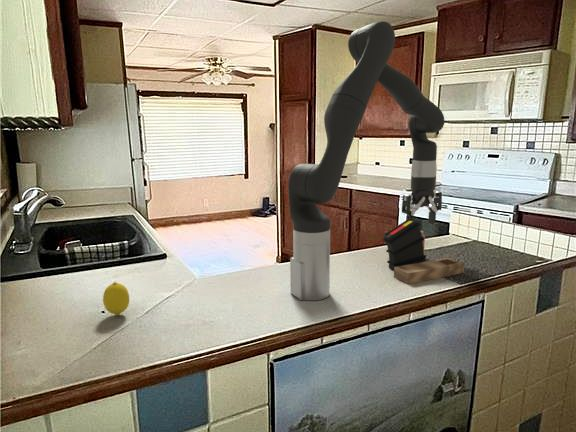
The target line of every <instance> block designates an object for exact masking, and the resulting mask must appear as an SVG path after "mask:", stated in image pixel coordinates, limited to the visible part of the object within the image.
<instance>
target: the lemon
mask: <svg viewBox="0 0 576 432" xmlns="http://www.w3.org/2000/svg"><path fill="white" fill-rule="evenodd" d="M102 303H103V306H104V308H105V310H106V311H107V312H108V313H110V314H112V315H114V316H115V315H116V316H120V314H121V313H123V312H125V311H126V310H127V308H128V306H129V305H130V294H129V291H128V289H127V287H126V285H124V284H122V283H118V282H117V281H114V282H112V283H111V284H109V285H108V286H107V287H106V288H105V289H104V292H103V296H102Z"/></svg>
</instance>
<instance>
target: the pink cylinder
mask: <svg viewBox="0 0 576 432" xmlns="http://www.w3.org/2000/svg"><path fill="white" fill-rule="evenodd" d="M420 231H421V235H422V237H424V241H423V247H424V248H425V245H426V244H425V243H426V240H425V239H426V233H425V232H424V230H420ZM424 233H425V234H424Z"/></svg>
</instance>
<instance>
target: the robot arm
mask: <svg viewBox="0 0 576 432" xmlns="http://www.w3.org/2000/svg"><path fill="white" fill-rule="evenodd" d="M395 42H396V33H395V29H394V27H393V25H391V23H390V22H387V21H385V20H382V21H376V22H375V21H374V22H372V23H369V24H367V25H365V26H362V27H360V28H357V29H355V30H354V31H353V32H351V34H349V38H348V41H347V46H348V47H347V48H348V51H349V54H350V55H351V58H353V60H354V61H355V62H356V63H357V64H356V65H355V67H354V68H353V69H352V70H351V71H350V73H348V74H347V75H346V77H345V78H344V79H342V81H341V82H340V83H339V84H338V86H337V87H336V89H334V92H333V93H332V95H331V97H330V100H329V102H328V104H327V107H326V109H325V112H324V116H323V120H324V121H323V123H324V128H325V129H324V130H325V134H326V139H327V140H326V142H327V143H326V147H325V150H324V153H323V156H322V158H321V160H320V162H319V163H318V164H317V163H316V164H315V163H298V164H297V165H295V166H294V167H293V168H292V169H291V171H290V174H289V178H288V202H289V203H288V204H289V215H290V219H291V221H292V229H293V231H292V234H293V235H292V236H293V237H292V238H293V239H292V242H293V243H292V245H293V246H292V247H293V249H292V250H293V251H292V253H293V256H292V257H291V256H290V259H289V260H290V265H289V266H290V267H289V270H290V280H289V281H290V293H291V294H292V295H293V296H294V297H295V298H297V299H298V300H299V301H319V300H324V299H327V298H328V297H329V296H330V288H331V287H330V283H331V282H330V280H331V277H330V276H331V271H330V270H331V269H330V268H331V266H330V263H331V260H330V259H331V219H330V217H329V216H328V215H327V214H325V213H323V211H322V210H321V209H320V208H319V207H318V205H317V204H327V203H329V202H331V200H332V199H333V198H335V197H334V196H335V195H336V193H337V191H338V188H339V185H340V183H341V178H342V176H343V171H344V169H345V165H346V161H347V158H348V155H349V152H350V149H351V146H352V144H353V141H354V139H355V136H356V134H357V131H358V129H359V127H360V124H361V122H362V120H363V118H364V114H365V113H366V110H367V107H368V103H369V101H370V98H371V96H372V94H373V92H374V89H375V88H376V84H377V83H379V84H380V85H381V86H382V87H383V88H384V89H385V90H386V91H387V93H389V94H390V96H392V98H393V99H394V101H395V102H396V103H397V104H398V106H399V107H400V108H401V110H402V111H403V112H404V113H405V114H406V115H409V120H408V130H409V134H410V139H411V144H412V148H413V149H412V164H411V171H410V189H411V193H410V194H405V193H404V194H403V195H402V204H401V213H403V214H405V215H406V220H407V219H409V218H414V219H415V214H416V212H417V211H418V210H419V209H420V208H423V207H426V208H427V209H428V211H429V212H428V219H427V223H428V224H431V225H434V224H435V223H436V218H437V212H438V211H441V210H442V209H443V208H442V206H443V205H442V204H443V203H442V202H443V200H442V198H443V193H442V192H441V191H437V190H436V189H437V188H436V186H437V169H438V167H437V155H438V154H437V151H438V145H437V142H435V141H432V140H429V138H428V136H427V134H435V133H438V132H440V131H441V130H442V129H443V128H444V125H445V115H444V113H443V111H442V110H441V108H439V107H438V106H437V105H436V104H435V103H433V102H432V101H431V100H430V99H428V98H427V97H426V96H425V95H424V94H423V92H422V91H421V89H420V88H419V87H418V85H417V84H416V83H415V81H413V79H411V77H409V76H407V75H406V74H405V73H403V72H401V71H399V70H397V69H396V68H394V67H392V66H391V65H390V64H389V63H388V61H389V60H390V58H391V56H392V54H393V51H394V48H395V44H396V43H395Z"/></svg>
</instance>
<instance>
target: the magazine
mask: <svg viewBox="0 0 576 432" xmlns="http://www.w3.org/2000/svg"><path fill="white" fill-rule="evenodd" d="M420 226H421V223H420V222H419V221H418V220H417V219H416V218H415V217H414V218H409V219H407V218H406V219H405V220H404V221H403V222H401V223H400V224H398V225H396V226H395V227H394V228H392V229H390V230H388V231H387V232H385V233H384V234H382V236H383V238H382V241H383V242H385V244H386V247H387V249H386V253H388V260H387V261H386V263H387V264H388V268H389V269H390V270H393V271H394V267H398V266H403V265H409V264H415V263H421V262H425V261H424V260H425V259H427V258H426V257H427V255H426V254H425V246H424V247H423V241H424V237H422V235H421V231H422V230H421V228H420Z"/></svg>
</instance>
